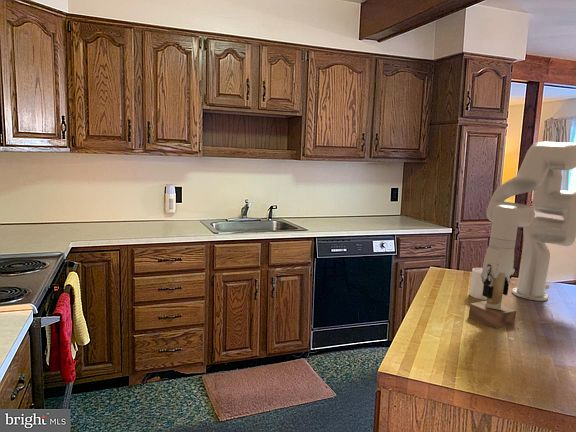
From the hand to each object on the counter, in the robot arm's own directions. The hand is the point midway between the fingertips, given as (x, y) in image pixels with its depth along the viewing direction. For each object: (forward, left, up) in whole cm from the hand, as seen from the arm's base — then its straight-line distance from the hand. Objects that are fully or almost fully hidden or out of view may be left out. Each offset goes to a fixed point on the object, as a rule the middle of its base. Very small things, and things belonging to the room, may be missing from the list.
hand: (494, 295), depth 146 cm
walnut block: (0, 0, -9) cm, 9 cm away
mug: (-16, -16, -9) cm, 24 cm away
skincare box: (0, 0, -4) cm, 4 cm away
